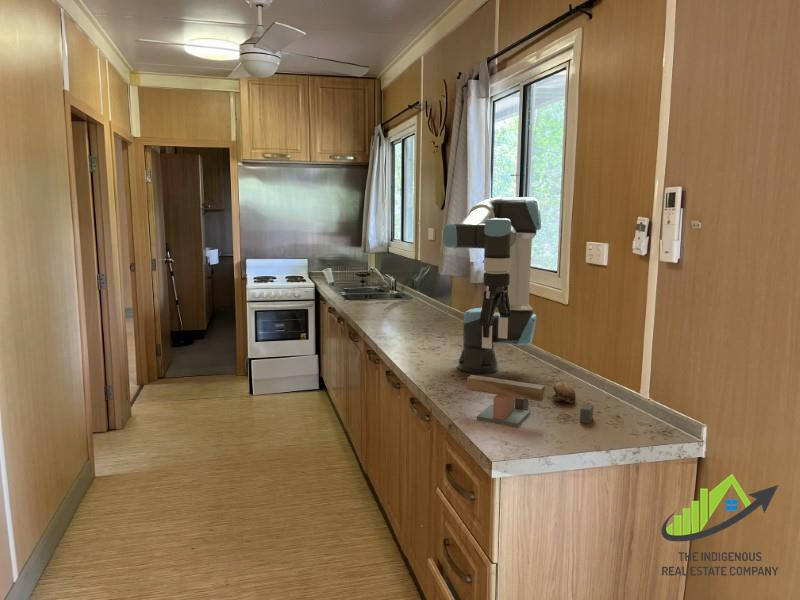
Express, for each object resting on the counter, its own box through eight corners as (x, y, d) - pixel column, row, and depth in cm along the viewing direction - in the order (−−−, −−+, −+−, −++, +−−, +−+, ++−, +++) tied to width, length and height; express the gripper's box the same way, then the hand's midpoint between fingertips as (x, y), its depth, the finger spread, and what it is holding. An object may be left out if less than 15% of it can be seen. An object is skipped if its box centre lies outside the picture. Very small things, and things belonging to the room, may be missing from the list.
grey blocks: (519, 406, 173) (520, 393, 173) (592, 418, 163) (593, 405, 162) (514, 410, 169) (515, 398, 169) (589, 423, 159) (590, 410, 158)
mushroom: (542, 390, 179) (555, 375, 177) (554, 394, 184) (567, 380, 183) (559, 408, 173) (572, 393, 172) (570, 412, 179) (584, 397, 177)
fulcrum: (491, 407, 172) (491, 385, 171) (530, 414, 166) (530, 391, 165) (476, 419, 162) (477, 396, 161) (517, 427, 156) (518, 402, 155)
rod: (471, 386, 170) (471, 374, 169) (544, 398, 159) (544, 385, 159) (466, 389, 167) (467, 377, 166) (540, 401, 156) (541, 389, 156)
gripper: (499, 266, 177) (497, 332, 181) (468, 276, 156) (466, 350, 159) (522, 268, 173) (520, 335, 177) (493, 278, 152) (492, 354, 156)
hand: (494, 343), depth 168 cm, fingers open, 13 cm apart
